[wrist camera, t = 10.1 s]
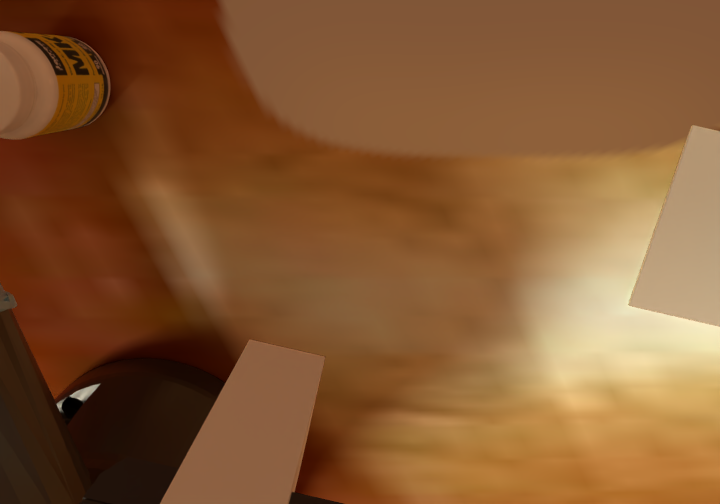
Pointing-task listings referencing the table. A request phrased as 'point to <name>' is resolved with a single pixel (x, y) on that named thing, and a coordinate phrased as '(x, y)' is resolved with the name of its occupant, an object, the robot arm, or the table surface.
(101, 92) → the supplement bottle
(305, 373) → the robot arm
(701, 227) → the beige square tile
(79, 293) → the table surface
